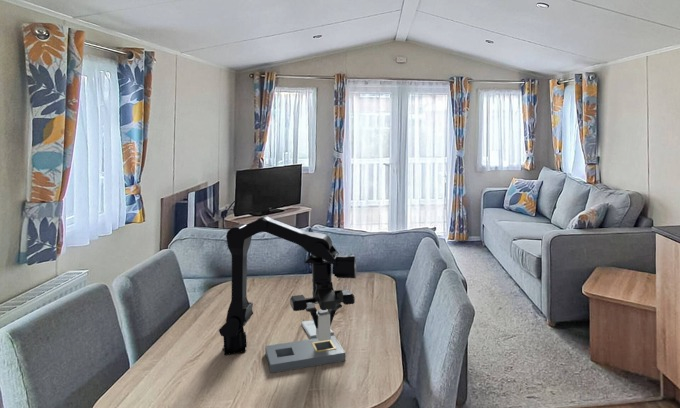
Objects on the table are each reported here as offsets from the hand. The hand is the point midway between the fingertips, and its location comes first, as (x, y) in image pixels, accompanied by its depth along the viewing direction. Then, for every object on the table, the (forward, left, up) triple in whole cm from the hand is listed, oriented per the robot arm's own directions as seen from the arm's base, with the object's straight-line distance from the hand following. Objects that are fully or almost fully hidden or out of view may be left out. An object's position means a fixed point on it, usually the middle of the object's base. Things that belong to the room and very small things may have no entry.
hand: (323, 327), depth 129 cm
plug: (0, 0, -4) cm, 4 cm away
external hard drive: (+2, +18, -9) cm, 20 cm away
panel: (-6, 0, -9) cm, 11 cm away
